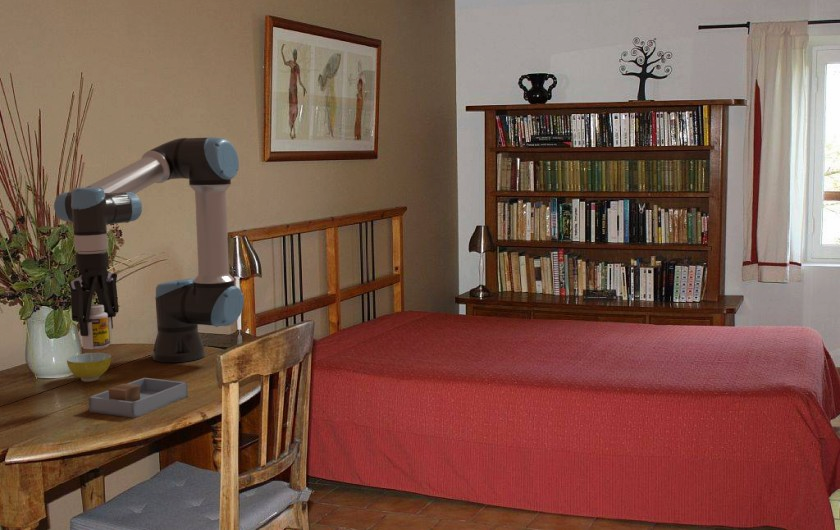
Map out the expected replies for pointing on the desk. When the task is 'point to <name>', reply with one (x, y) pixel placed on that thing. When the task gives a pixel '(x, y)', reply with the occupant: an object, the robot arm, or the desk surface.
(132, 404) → the tray
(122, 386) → the walnut cube
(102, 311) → the supplement bottle
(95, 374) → the bowl
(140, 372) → the desk surface
